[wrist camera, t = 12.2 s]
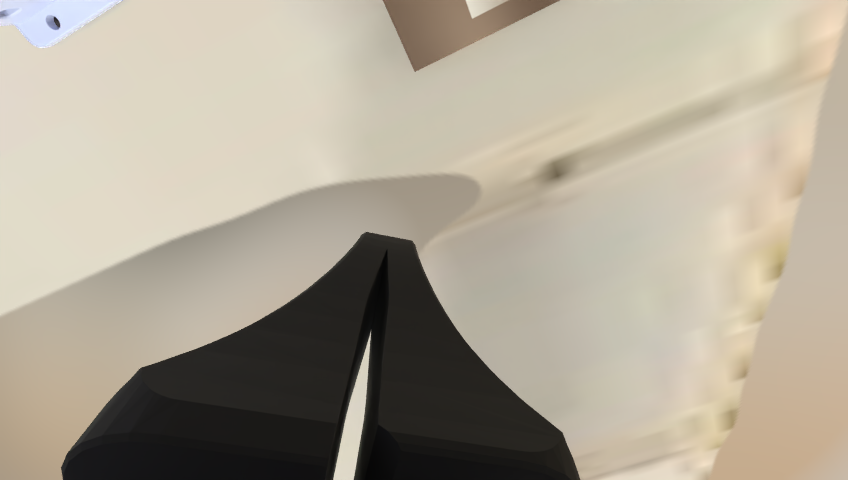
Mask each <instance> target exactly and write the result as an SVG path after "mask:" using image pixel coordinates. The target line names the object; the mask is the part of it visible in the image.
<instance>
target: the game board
mask: <svg viewBox="0 0 848 480" xmlns="http://www.w3.org/2000/svg"><path fill="white" fill-rule="evenodd" d="M383 1H384V4H385V6H386V8H387V10H388V13H389V15H390V17H391V19H392V22H393V24H394V26H395V28H396V31H397V33H398V35H399V37H400V40H401V42H402V44H403V46H404V49H405V51H406V53H407V55H408V58H409V60H410V62H411V64H412V67H413V69H414V71H417V70H419V69H421V68H424V67H426V66H428V65H430V64H432V63H434V62H436V61H438V60H440V59H442V58H444V57H446V56H448V55H450V54H452V53H454V52H456V51H458V50H460V49H462V48H464V47H466V46H468V45H470V44H472V43H474V42H476V41H478V40H480V39H482V38H484V37H486V36H488V35H490V34H492V33H494V32H497V31H499V30H501V29H503V28H505V27H507V26H509V25H511V24H513V23H515V22H517V21H519V20H521V19H523V18H525V17H527V16H529V15H531V14H533V13H535V12H537V11H539V10H541V9H543V8H545V7H547V6H549V5H551V4H553V3H555V2H557V1H559V0H383Z"/></svg>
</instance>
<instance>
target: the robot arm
mask: <svg viewBox="0 0 848 480" xmlns="http://www.w3.org/2000/svg"><path fill="white" fill-rule="evenodd" d="M121 1H123V0H0V26H5V25H15V26H16V27H17V29H18V30H19V31H20V32H21V33H22V34H23V36H24V37H25V38H26V39H27V40H28V41H29V42H30V43H31V44H32V45H34V46H36V47H38V48H47V47H51V46H53V45H55V44H56V43H58V42H60V41H61V40H63V39H64V38H66V37H67V36H69V35H70V34H72V33H73V32H75V31H76V30H78V29H80V28H81V27H83V26H84V25H86V24H87V23H89V22H90V21H92V20H93V19H95V18H96V17H98V16H100V15H101V14H103V13H104V12H106V11H107V10H109V9H110V8H112V7H113V6H115V5H116V4H118V3H119V2H121ZM54 16H55V17H56V18H57V19H58V20H59V22H60V28H59V27H58V26H57V25H56V24H55V22H54ZM370 332H371V341H370V355H369V368H368V382H367V395H366V407H365V415H364V423H363V429H362V435H361V441H360V447H359V452H358V458H357V464H356V470H355V476H354V480H580V478H579V474H578V471H577V468H576V466H575V463H574V460H573V457H572V455H571V453H570V450H569V448H568V446H567V443H566V441H565V438H564V435H563V433H562V432H561V431H560V430H559V429H557V428H556V427H555V426H554V425H552V424H551V423H550V422H549V421H547V420H546V419H545V418H544V417H542V416H541V415H540V414H539V413H538V412H536V411H535V410H534V409H533V408H531V407H530V406H529V405H528V404H526V403H525V402H524V401H523V400H522V399H520V398H519V397H518V396H517V395H516V394H515V393H514V392H513V391H512V390H511V389H510V388H509V387H508V386H506V385H505V384H504V383H503V382H502V381H501V380H500V379H499V378H498V377H497V376H496V375H495V374H494V373H493V372H492V371H491V370H490V369H489V368H488V367H487V365H486V364H485V363H484V362H483V361H482V360H481V359H480V358H479V357H478V355H477V354H476V353H475V352H474V351H473V350H472V349H471V347H470V346H469V345H468V344H467V343H466V341H465V340H464V339H463V337H462V336H461V335H460V333H459V332H458V330H457V329H456V328H455V326H454V325H453V323H452V322H451V320H450V319H449V317H448V315H447V314H446V312H445V311H444V309H443V307H442V305H441V304H440V302H439V300H438V298H437V297H436V295H435V293H434V291H433V289H432V287H431V285H430V283H429V281H428V278H427V276H426V274H425V272H424V270H423V267H422V264H421V262H420V259H419V257H418V254H417V250H416V247H415V244H414V243H413V241H411V240H406V239H400V238H395V237H390V236H384V235H379V234H374V233H369V232H366V233H364V234H362V235H361V237H360V238H359V239H358V241H357V242H356V243H355V245H354V246H353V247H352V248H351V249H350V250H349V251H348V252H347V254H346V255H345V256H344V257H343V258H342V259H341V260H340V261H339V262H338V263H337V264H336V265H335V266H334V267H333V268H332V269H331V270H329V271H328V272H327V273H326V274H325V275H324V276H322V277H321V278H320V279H319V280H318V281H317V282H315V283H314V284H313V285H312V286H310V287H309V288H308V289H307V290H305V291H304V292H303V293H301V294H300V295H298V296H297V297H296V298H294V299H293V300H291V301H290V302H288V303H287V304H285V305H284V306H282V307H281V308H279V309H277V310H276V311H274V312H272V313H270V314H269V315H267V316H265V317H264V318H262V319H260V320H259V321H257V322H255V323H253V324H251V325H249V326H247V327H245V328H243V329H241V330H239V331H237V332H235V333H233V334H231V335H228V336H226V337H224V338H221V339H219V340H217V341H214V342H212V343H210V344H207V345H205V346H202V347H200V348H197V349H195V350H192V351H189V352H186V353H183V354H180V355H178V356H175V357H172V358H169V359H166V360H163V361H161V362H158V363H155V364H152V365H149V366H145V367H142V368H140V369H139V370H138V371H137V373H136V374H135V375H134V376H133V377H132V378H131V379H130V380H129V381H128V382H127V383H126V384H125V385H124V386H123V387H122V388H121V389H120V390H119V391H118V392H117V393H116V394H115V395H114V396H113V398H112V399H111V400H110V401H109V402H108V403H107V404H106V406H105V407H104V408H103V409H102V411H101V412H100V413H99V414H98V415H97V417H96V418H95V419H94V421H93V422H92V423H91V424H90V426H89V427H88V428H87V429H86V431H85V432H84V433H83V434H82V436H81V437H80V438H79V439H78V441H77V442H76V443H75V445H74V446H73V447H72V448H71V450H70V451H69V452H68V453H67V455H66V458H65V460H64V463H63V465H62V467H61V470H62V475H63V480H333V477H334V472H335V467H336V462H337V457H338V452H339V448H340V443H341V438H342V433H343V428H344V423H345V418H346V414H347V410H348V406H349V402H350V399H351V395H352V392H353V389H354V385H355V382H356V379H357V375H358V372H359V369H360V365H361V362H362V359H363V356H364V352H365V349H366V346H367V342H368V339H369V336H370Z"/></svg>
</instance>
